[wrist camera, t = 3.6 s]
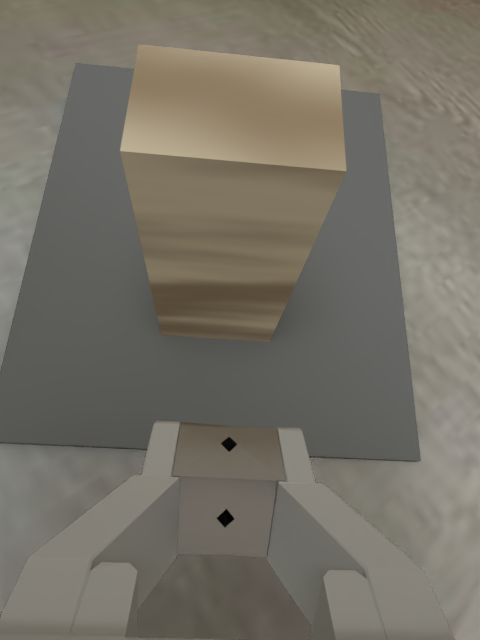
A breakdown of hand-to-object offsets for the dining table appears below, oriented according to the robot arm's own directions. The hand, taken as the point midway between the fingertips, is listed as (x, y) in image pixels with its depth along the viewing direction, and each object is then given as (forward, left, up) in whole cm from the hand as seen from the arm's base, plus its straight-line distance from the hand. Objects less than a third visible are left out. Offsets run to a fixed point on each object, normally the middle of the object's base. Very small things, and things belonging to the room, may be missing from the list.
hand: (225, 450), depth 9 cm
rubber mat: (-9, +11, -14) cm, 20 cm away
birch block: (-6, +7, -14) cm, 17 cm away
